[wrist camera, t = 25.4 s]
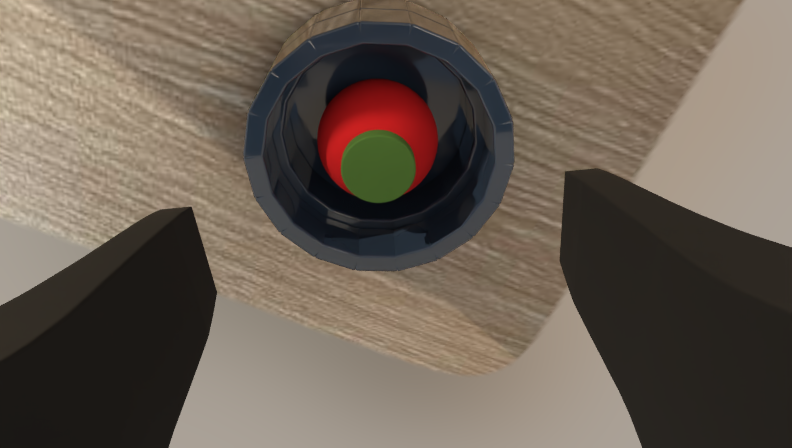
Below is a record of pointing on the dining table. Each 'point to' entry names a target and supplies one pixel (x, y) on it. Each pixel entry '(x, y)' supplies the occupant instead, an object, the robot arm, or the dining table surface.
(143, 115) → the dining table surface
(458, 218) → the bowl
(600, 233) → the robot arm
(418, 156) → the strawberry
